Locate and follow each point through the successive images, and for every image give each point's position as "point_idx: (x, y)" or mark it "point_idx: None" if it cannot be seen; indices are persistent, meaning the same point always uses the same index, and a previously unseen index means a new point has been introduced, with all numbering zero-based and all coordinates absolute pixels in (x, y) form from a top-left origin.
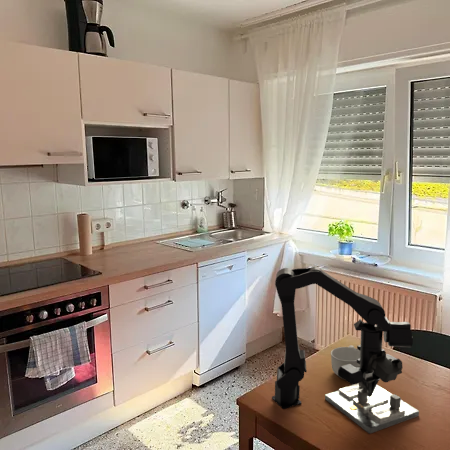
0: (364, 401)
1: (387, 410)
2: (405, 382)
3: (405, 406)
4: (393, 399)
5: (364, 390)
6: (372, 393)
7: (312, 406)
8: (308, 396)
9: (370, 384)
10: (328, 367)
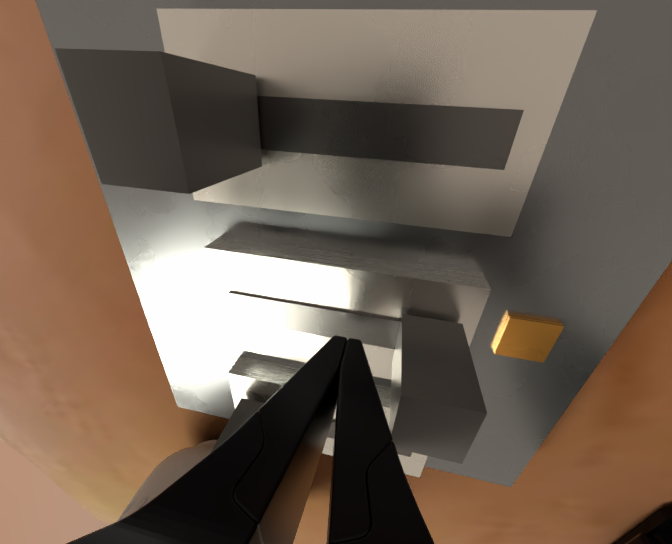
0: (439, 330)
1: (346, 115)
2: (20, 311)
3: None
4: (194, 114)
5: (401, 427)
6: (322, 353)
7: (638, 466)
8: (547, 502)
9: (370, 512)
10: None
